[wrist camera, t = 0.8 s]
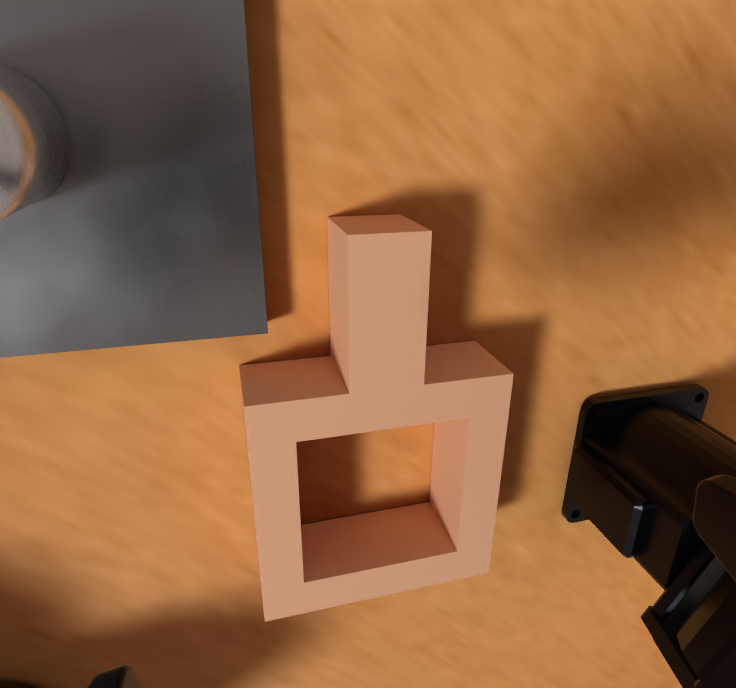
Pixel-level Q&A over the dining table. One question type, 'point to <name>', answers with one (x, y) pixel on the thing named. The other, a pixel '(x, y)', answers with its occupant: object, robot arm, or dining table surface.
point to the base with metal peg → (126, 175)
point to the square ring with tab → (372, 413)
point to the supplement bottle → (11, 686)
